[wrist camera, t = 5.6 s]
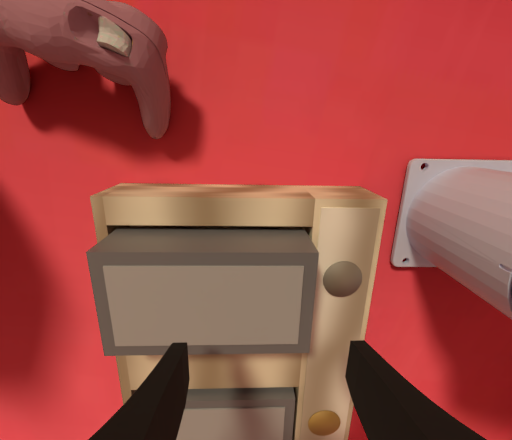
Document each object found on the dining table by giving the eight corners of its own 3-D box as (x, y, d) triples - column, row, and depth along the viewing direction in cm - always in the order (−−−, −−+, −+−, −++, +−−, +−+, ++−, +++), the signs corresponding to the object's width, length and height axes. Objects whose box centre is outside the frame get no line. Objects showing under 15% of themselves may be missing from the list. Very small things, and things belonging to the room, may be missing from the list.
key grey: (304, 228, 17) (319, 253, 14) (297, 313, 19) (309, 354, 15) (118, 227, 16) (85, 252, 13) (129, 314, 18) (103, 357, 15)
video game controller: (185, 84, 19) (167, -17, 12) (168, 147, 18) (139, 77, 11) (29, 44, 18) (-87, -93, 11) (4, 109, 17) (-138, 5, 10)
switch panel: (359, 186, 20) (389, 200, 16) (329, 418, 26) (344, 469, 22) (120, 183, 19) (87, 197, 15) (150, 422, 26) (133, 476, 22)
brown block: (287, 359, 23) (295, 400, 19) (284, 414, 25) (290, 460, 21) (149, 361, 22) (132, 403, 19) (156, 417, 24) (141, 465, 21)
